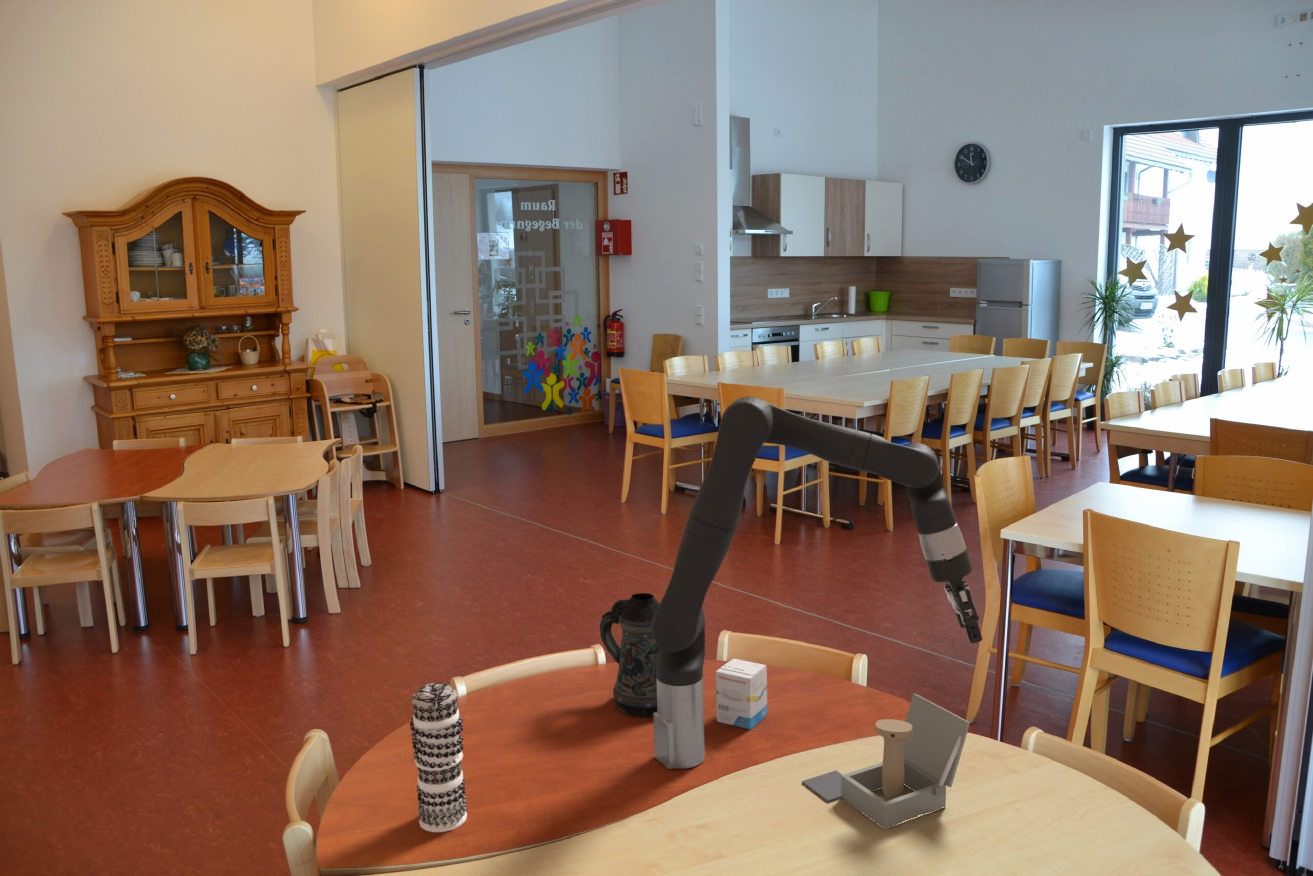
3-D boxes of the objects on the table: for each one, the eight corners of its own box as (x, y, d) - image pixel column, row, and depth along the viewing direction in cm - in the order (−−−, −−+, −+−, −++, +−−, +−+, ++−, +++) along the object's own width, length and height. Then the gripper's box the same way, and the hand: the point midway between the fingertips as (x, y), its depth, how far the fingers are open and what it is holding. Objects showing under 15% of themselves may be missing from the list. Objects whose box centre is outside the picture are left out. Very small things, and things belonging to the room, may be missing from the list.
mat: (827, 802, 179) (827, 800, 179) (802, 783, 186) (802, 781, 186) (862, 791, 183) (862, 789, 182) (835, 772, 190) (835, 770, 189)
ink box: (768, 714, 215) (767, 664, 213) (750, 730, 208) (750, 678, 206) (733, 706, 219) (733, 657, 217) (715, 721, 212) (714, 670, 210)
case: (888, 832, 169) (889, 746, 166) (837, 795, 181) (838, 714, 179) (967, 804, 177) (970, 721, 175) (914, 770, 189) (915, 692, 187)
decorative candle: (444, 839, 171) (434, 704, 166) (406, 824, 175) (396, 693, 171) (479, 814, 178) (471, 684, 174) (442, 801, 183) (433, 674, 179)
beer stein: (686, 718, 214) (684, 608, 210) (597, 719, 215) (593, 610, 210) (685, 686, 231) (683, 584, 226) (603, 688, 231) (599, 586, 227)
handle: (910, 812, 175) (911, 733, 172) (873, 807, 177) (874, 729, 174) (911, 798, 179) (913, 721, 177) (876, 793, 181) (876, 717, 179)
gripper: (918, 547, 185) (943, 627, 186) (931, 567, 171) (958, 653, 172) (957, 536, 184) (982, 616, 185) (973, 554, 170) (1001, 641, 171)
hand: (971, 634), depth 179 cm, fingers open, 8 cm apart
